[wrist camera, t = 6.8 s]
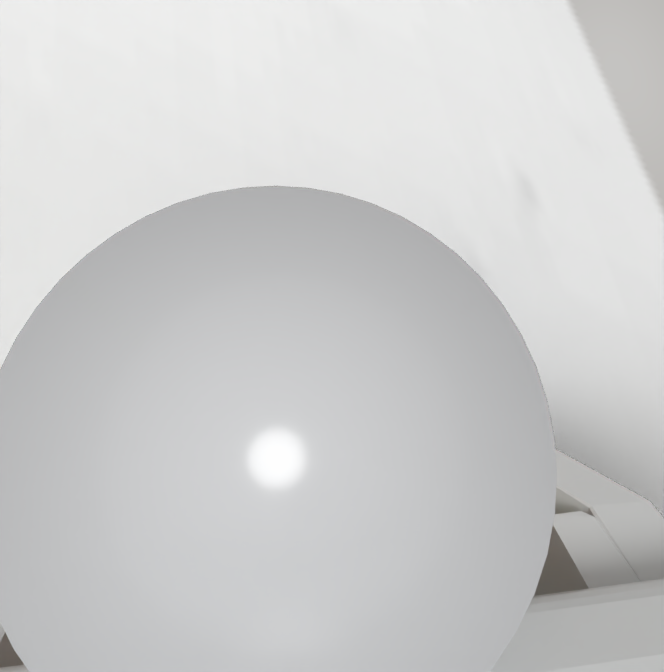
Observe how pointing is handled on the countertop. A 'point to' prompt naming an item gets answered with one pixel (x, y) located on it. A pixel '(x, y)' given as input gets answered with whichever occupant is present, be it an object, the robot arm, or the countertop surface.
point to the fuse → (271, 449)
